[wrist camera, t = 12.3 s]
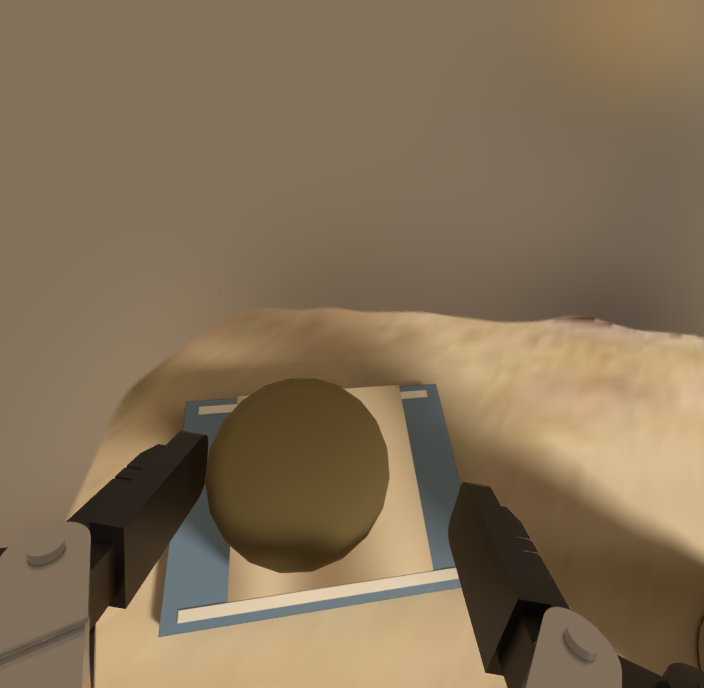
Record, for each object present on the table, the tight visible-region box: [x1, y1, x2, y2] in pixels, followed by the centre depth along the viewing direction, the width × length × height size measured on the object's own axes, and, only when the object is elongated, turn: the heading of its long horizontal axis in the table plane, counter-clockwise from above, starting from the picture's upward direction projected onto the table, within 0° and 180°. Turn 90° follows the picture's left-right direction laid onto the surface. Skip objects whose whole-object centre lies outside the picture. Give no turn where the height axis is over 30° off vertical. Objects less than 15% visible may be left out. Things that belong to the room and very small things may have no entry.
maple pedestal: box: [227, 385, 433, 602], centre depth 21 cm, size 10×10×6 cm
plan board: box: [158, 384, 461, 637], centre depth 24 cm, size 20×14×1 cm
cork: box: [205, 379, 390, 573], centre depth 13 cm, size 6×6×11 cm
